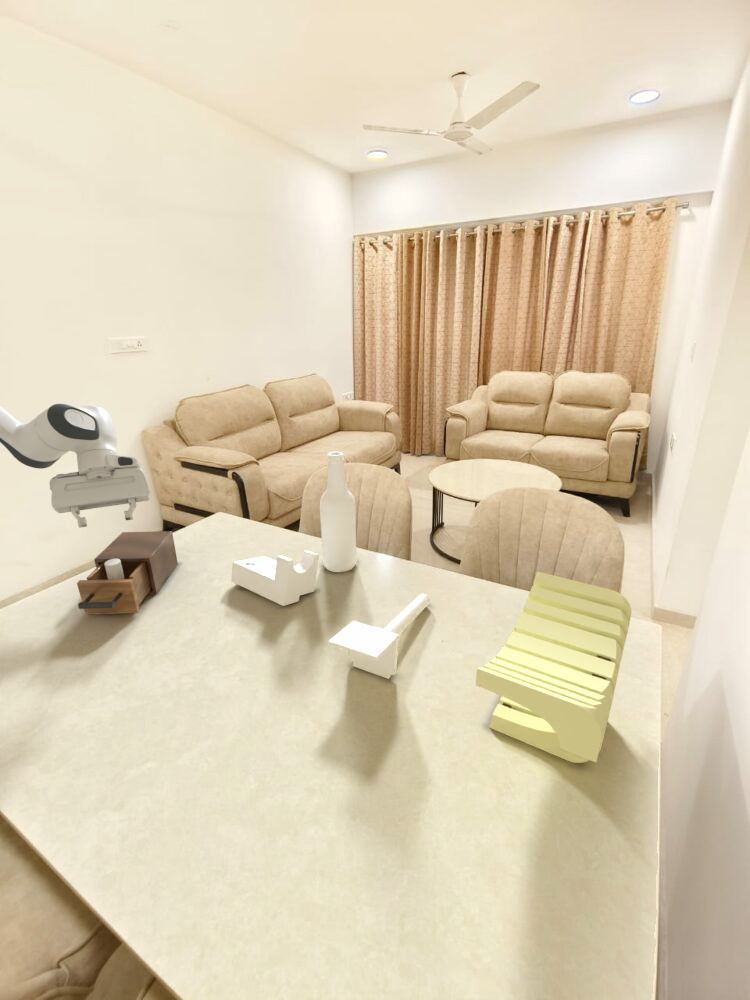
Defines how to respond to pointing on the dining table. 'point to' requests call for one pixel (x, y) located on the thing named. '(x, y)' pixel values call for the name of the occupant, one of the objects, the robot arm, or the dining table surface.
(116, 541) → the cabinet
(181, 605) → the dining table surface
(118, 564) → the tube
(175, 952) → the dining table surface
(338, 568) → the alcohol
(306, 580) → the white cradle stand
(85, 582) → the drawer
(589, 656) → the slatted curved stool
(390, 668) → the white block on rod
